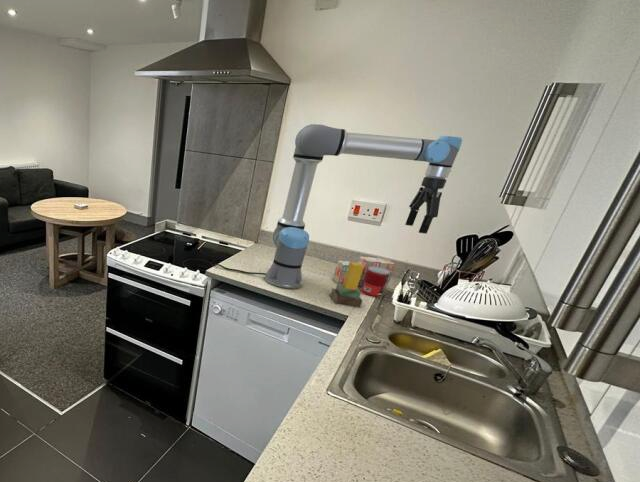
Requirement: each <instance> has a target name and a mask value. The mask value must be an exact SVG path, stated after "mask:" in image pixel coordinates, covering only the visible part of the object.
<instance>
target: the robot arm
mask: <svg viewBox="0 0 640 482" xmlns="http://www.w3.org/2000/svg"><path fill="white" fill-rule="evenodd" d="M462 142H463V138H462V137H461V136H453V135H451V136H450V135H439V137H438V139H429V138H427V139H426V138H415V137H404V136H394V135H393V136H392V135H382V134H369V133H359V132H349V131H347V130H346V129H345V128H337V127H333V126H332V127H331V126H328V125H325V124H316V123H311V124H308V125H305V126H304V127H302V128H301V129H300V130H299V131H298V133H297V134H296V137H295V139H294V144H295V148H294V151H293V156H292V158H293V160H294V161H295V164H294V168H293V172H292V176H291V180H290V185H289V189H288V193H287V196H286V201H285V205H284V209H283V213H282V217H280V218H278V220H277V224H276V227H275V228H274V231H273V233H272V241H273V244H274V245H275V248H276V249H275V253H274V256H273V260H272V261H273V262H272V264H271V265H270V267H269V269H268V270H267V272H253V271H245V270H242V269H236V268H231V267H230V268H229V267H226V266H224V265H222V264H220V263H215V264H212V267H217V266H218V267H220V268H222V269H224V270H227V271H232V272H233V271H234V272H238V273H243V274H247V275H261V276H264V280H265V281H266V282H267V283H268V284H270V285H272V286H275V287H278V288H282V289H290V290H295V289H299V288H301V286H302V284H303V277H302V276H303V275H302V267H303V263H304V259H305V256H306V252H307V249H308V246H309V242H310V234H309V233H308V232H307V231H306V230H305V227H306V223H305V221H304V217H305V213H306V209H307V205H308V201H309V198H310V194H311V190H312V186H313V182H314V178H315V176H316V171H317V167H318V165H319V164H320V163H322V162H323V160H324V156H334V157H335V156H336V157H338V156H340V155H341V154H342V155H343V154H344V155H353V156H364V157H373V158H374V157H376V158H385V159H396V160H406V161H407V160H408V161H416V162H424V163H425V162H426V163H428V165H427V168H426V171H425V173H424V175H425V176H424V177H423V178H422V180H421V185H420V187H419V188H418V191H417V193H416V195H414V198H413V199H412V201H411V202H410V204H409V206H408V207H409V208H410V211H409V213H408V216H407V219H406V221H405V224H404V226H409V227H413V226H414V224H415V221H416V218H417V217H418V213H419V211H420V208H421V207H422V205H424V203H426V206H425V207H426V210H425V211H426V213H425V215H424V216H423V219H422V222H421V225H420V227H419V230H418V233H419V234H425V235H426V234H428V231H429V229H430V227H431V224H432V221H433V219H434V218H437V217H438V215H439V211H440V210H439V209H440V203H441V202H440V201H441V197H442V196H443V192H442V191H439V190H442V189H444V188H445V185H446V183H447V178H448V177H449V175H450V173H451V172H452V168H453V165H454V163H455V161H456V157H457V155H458V153H459V152H460V149H461V146H462V144H463V143H462Z"/></svg>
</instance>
